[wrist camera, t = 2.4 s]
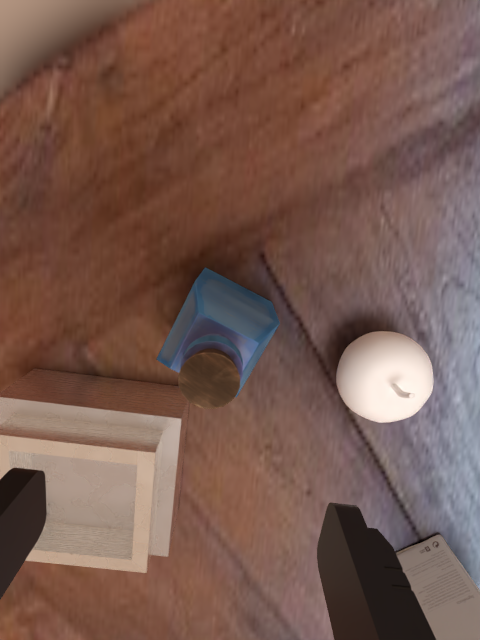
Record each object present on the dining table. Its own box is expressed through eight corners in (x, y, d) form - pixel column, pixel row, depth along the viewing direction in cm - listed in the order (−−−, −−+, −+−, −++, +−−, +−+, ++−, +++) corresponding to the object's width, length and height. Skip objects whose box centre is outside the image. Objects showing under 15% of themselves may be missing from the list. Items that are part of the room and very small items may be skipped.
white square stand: (34, 368, 30) (-32, 415, 23) (191, 387, 30) (175, 439, 23) (40, 494, 34) (-15, 568, 26) (178, 509, 34) (161, 586, 27)
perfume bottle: (271, 301, 28) (292, 357, 17) (237, 361, 30) (235, 451, 18) (205, 267, 27) (179, 300, 16) (173, 330, 29) (128, 404, 17)
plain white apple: (415, 324, 29) (479, 362, 21) (393, 398, 31) (445, 457, 23) (335, 313, 28) (370, 347, 21) (318, 388, 30) (344, 444, 23)
